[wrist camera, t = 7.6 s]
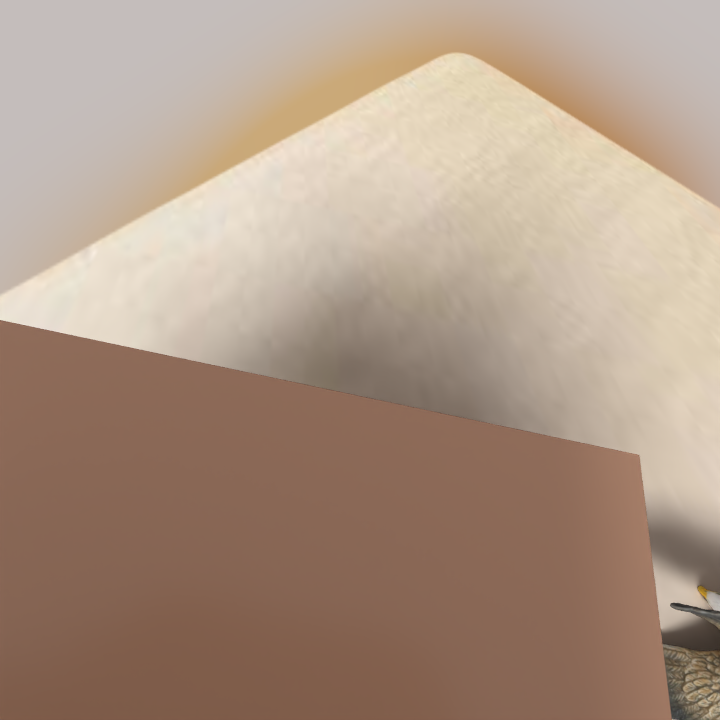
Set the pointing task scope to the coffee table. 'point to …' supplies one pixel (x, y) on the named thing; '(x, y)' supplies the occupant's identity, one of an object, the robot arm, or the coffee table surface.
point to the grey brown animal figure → (694, 670)
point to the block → (305, 553)
